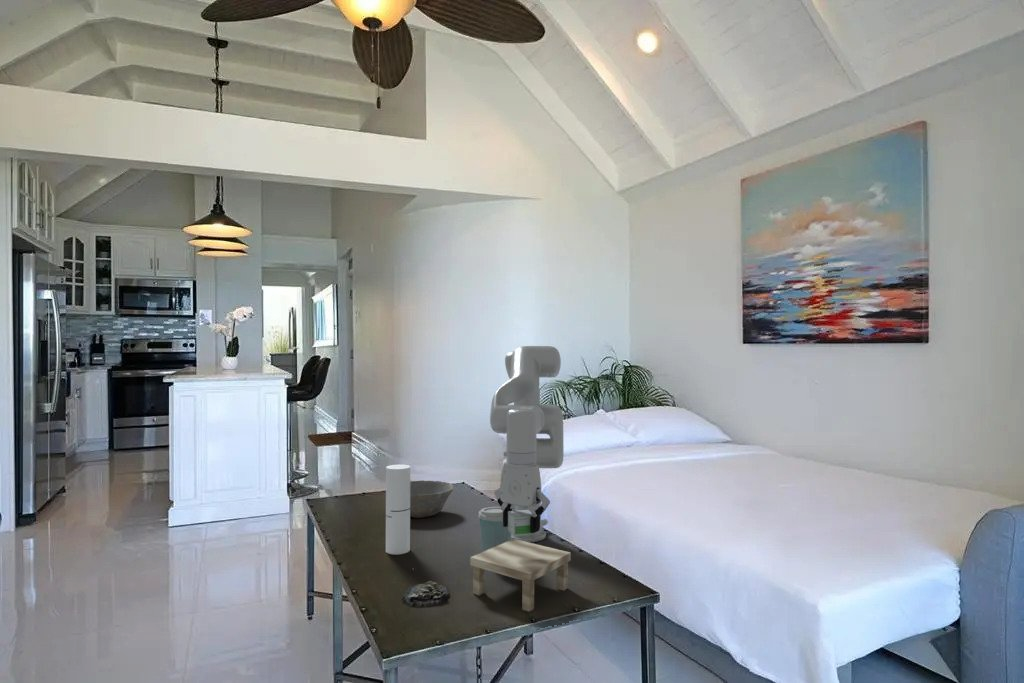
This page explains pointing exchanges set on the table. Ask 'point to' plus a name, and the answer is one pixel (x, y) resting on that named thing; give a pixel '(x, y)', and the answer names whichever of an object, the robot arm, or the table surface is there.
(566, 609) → the table surface
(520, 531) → the small box
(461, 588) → the table surface
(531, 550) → the footstool
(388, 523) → the cylindrical container
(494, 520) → the disposable coffee cup
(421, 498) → the ceramic bowl
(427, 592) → the dark grey rock
